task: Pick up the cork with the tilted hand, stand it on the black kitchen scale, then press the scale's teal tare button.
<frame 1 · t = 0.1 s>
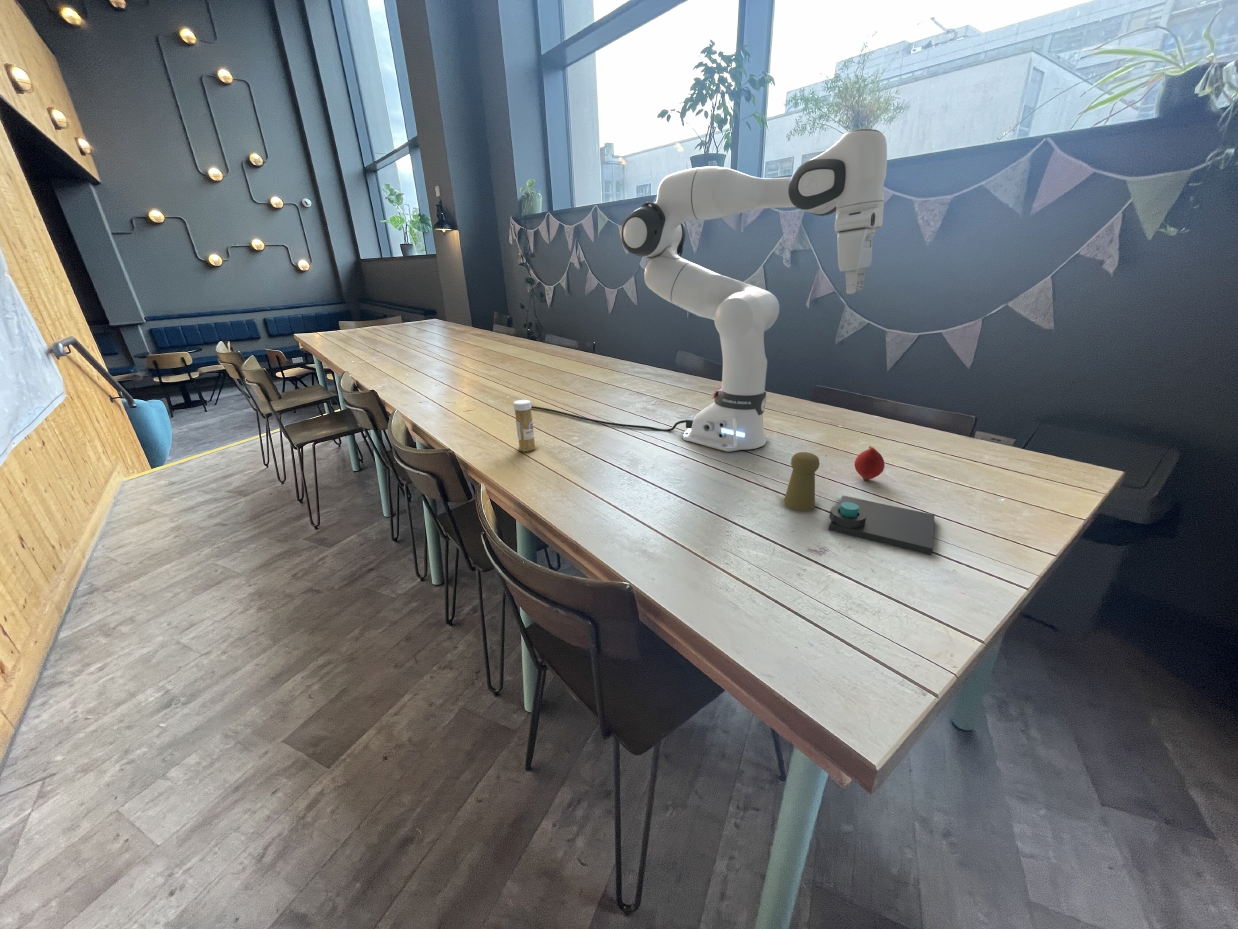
hand: (854, 291, 102), 39 cm above the table, tool pointing down, fingers open, 8 cm apart
scale: (881, 525, 87), on the table
cork: (799, 505, 96), on the table
tare button: (849, 509, 86), point 4 cm above the table, slide at 0.1 cm
onion: (866, 480, 105), on the table
sprinkles bottle: (527, 449, 128), on the table
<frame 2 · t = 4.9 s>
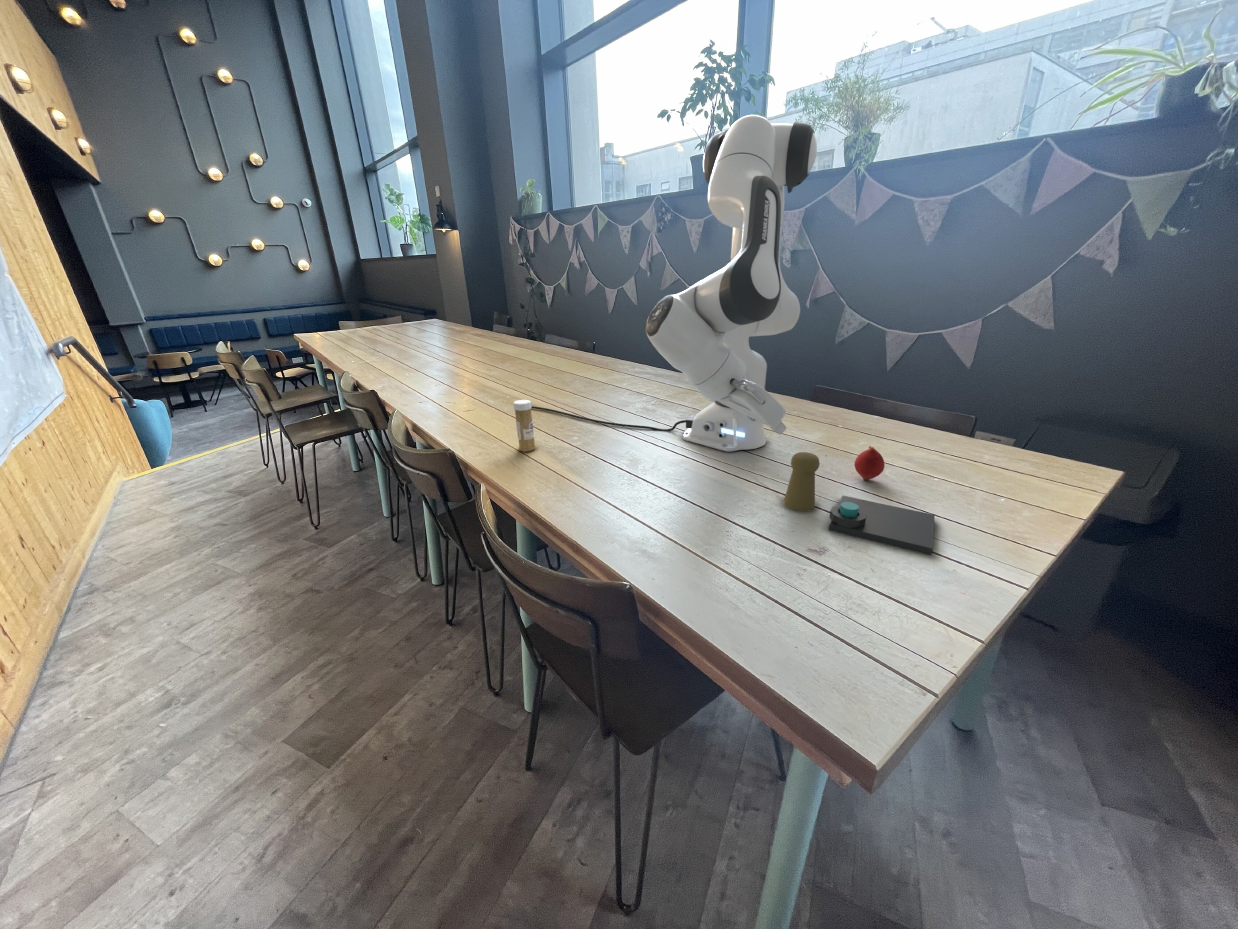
hand: (767, 424, 87), 18 cm above the table, tool tilted 45°, fingers open, 8 cm apart
nothing on the table moved.
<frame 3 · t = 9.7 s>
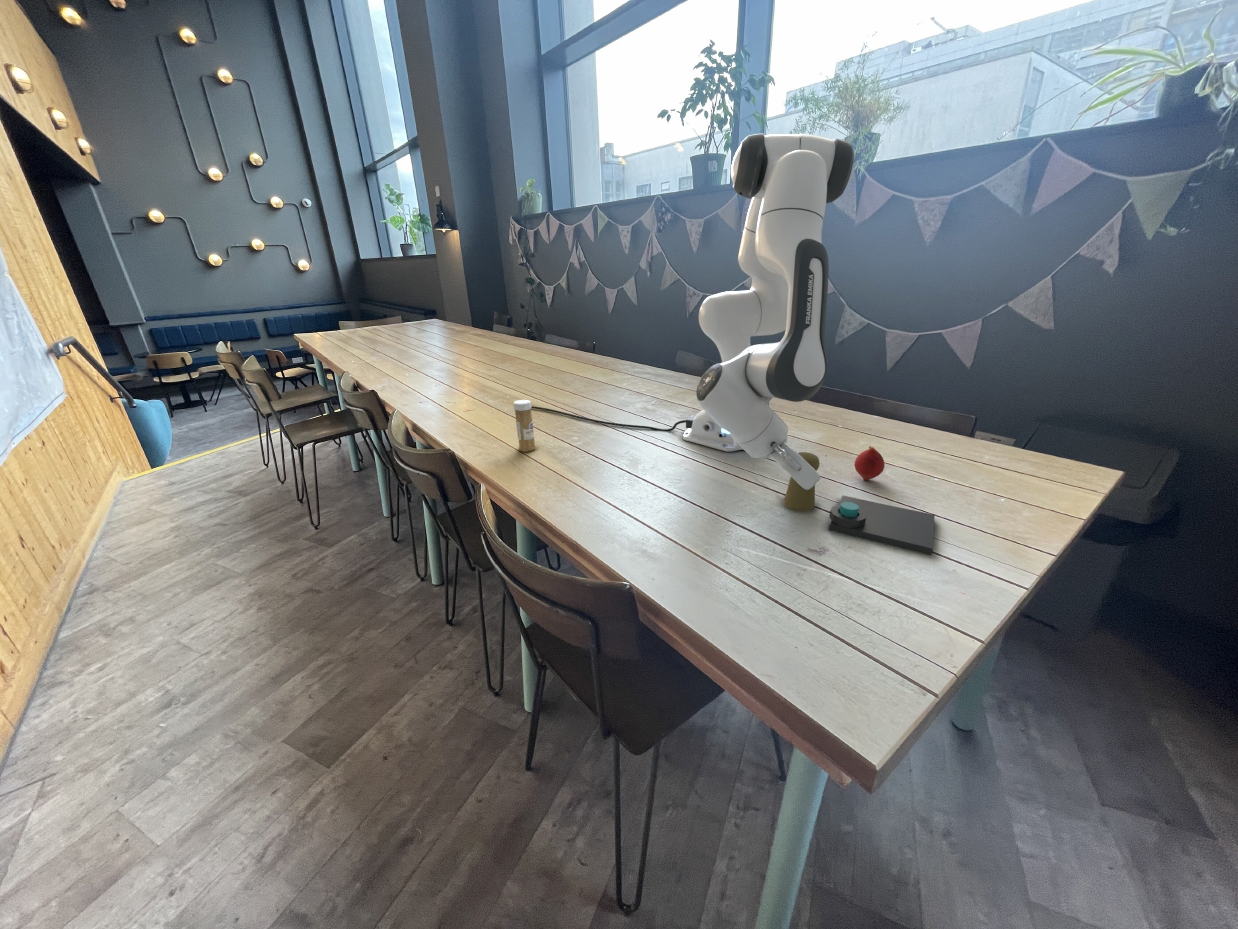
hand: (805, 477, 93), 6 cm above the table, tool tilted 45°, fingers closed on cork, 4 cm apart
cork: (799, 505, 96), on the table, touching gripper
everything else where it was.
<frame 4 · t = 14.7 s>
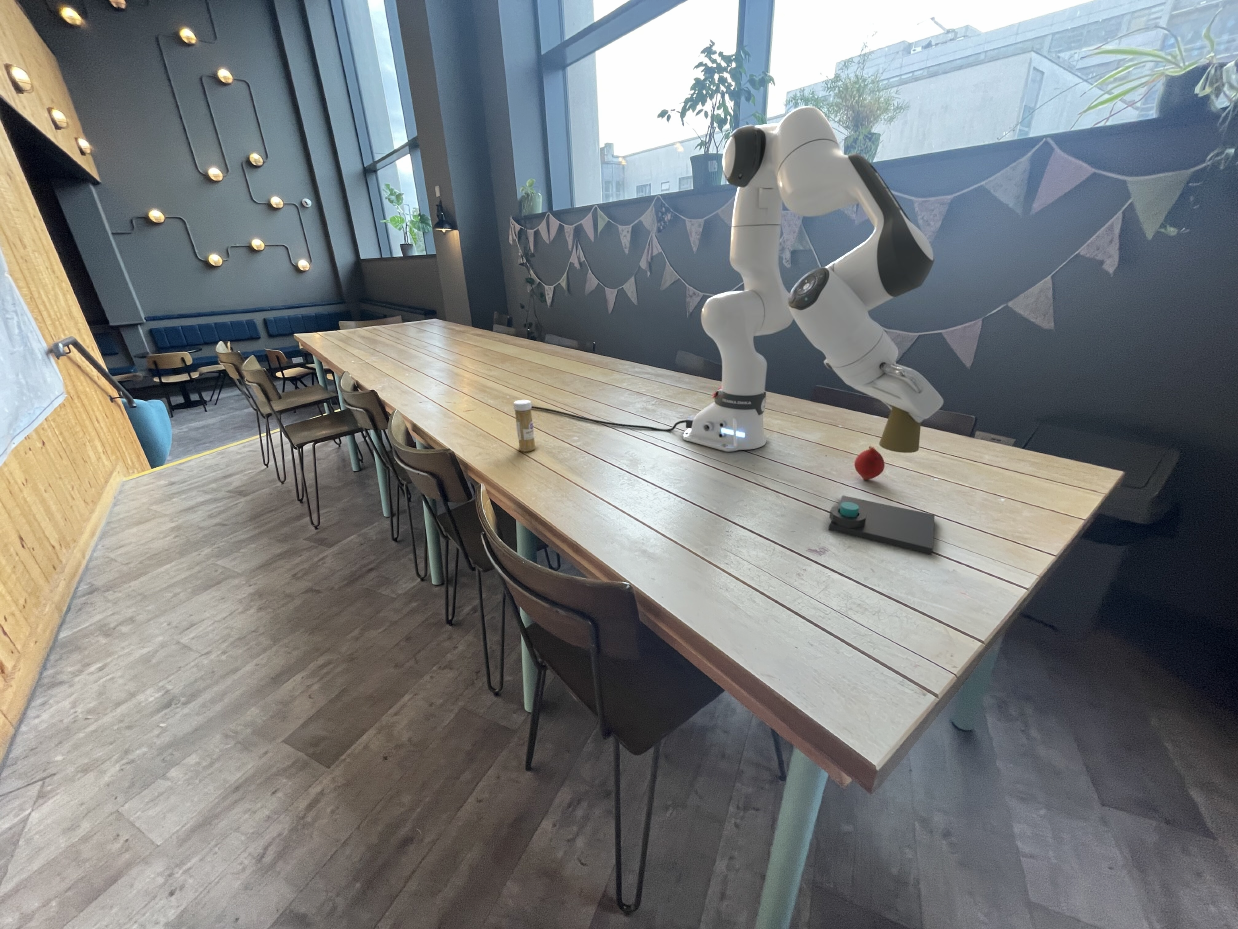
hand: (909, 413, 79), 21 cm above the table, tool tilted 45°, fingers closed on cork, 4 cm apart
cork: (898, 447, 82), point 15 cm above the table, touching gripper
everything else where it was.
when the fingers open (7 cm above the table, at t = 19.5 s): cork stays where it is, resting on scale.
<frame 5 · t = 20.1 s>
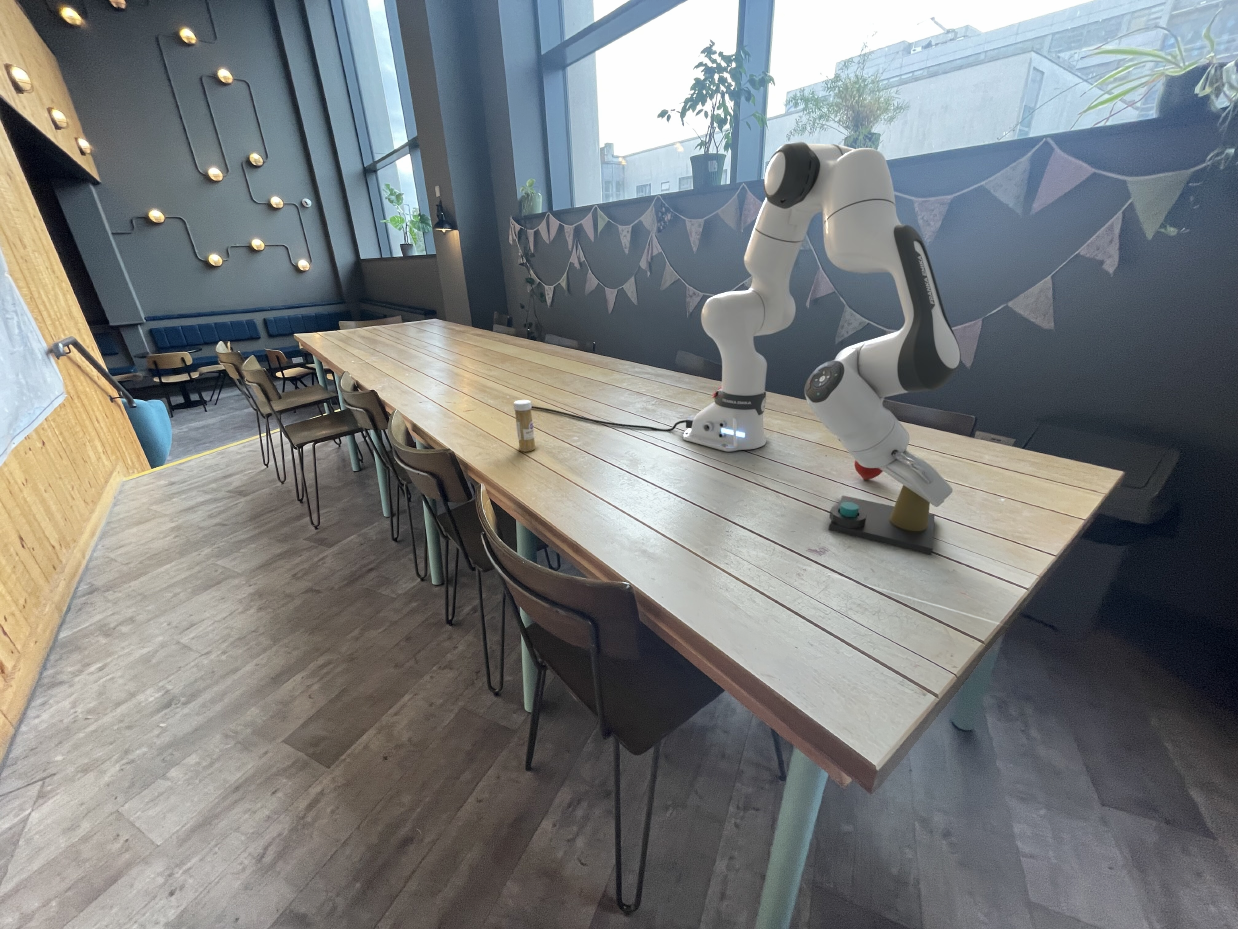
hand: (918, 489, 83), 8 cm above the table, tool tilted 45°, fingers open, 8 cm apart
cork: (907, 523, 85), point 1 cm above the table, touching scale
everything else where it was.
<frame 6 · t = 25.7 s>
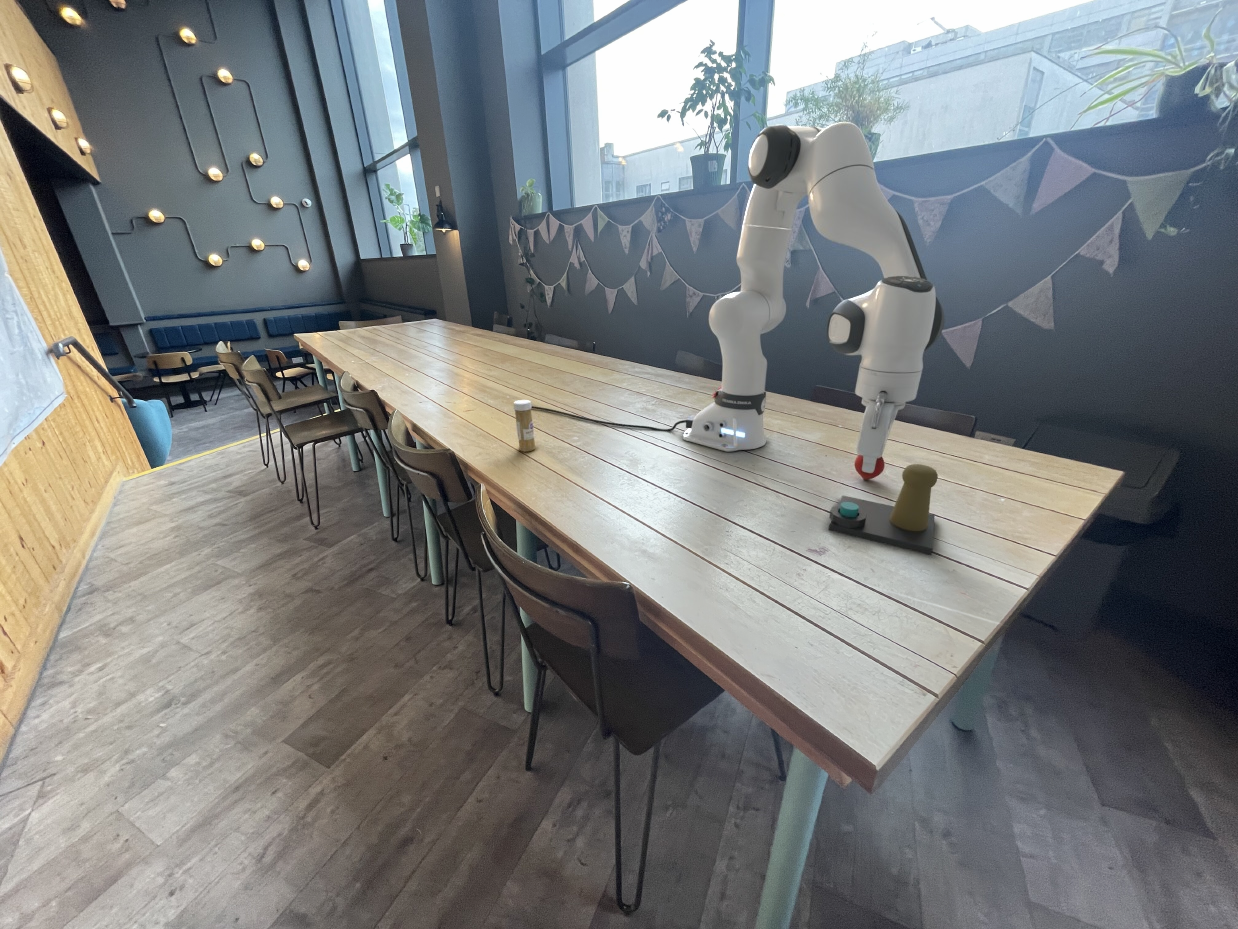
hand: (870, 463, 81), 13 cm above the table, tool pointing down, fingers open, 6 cm apart
nothing on the table moved.
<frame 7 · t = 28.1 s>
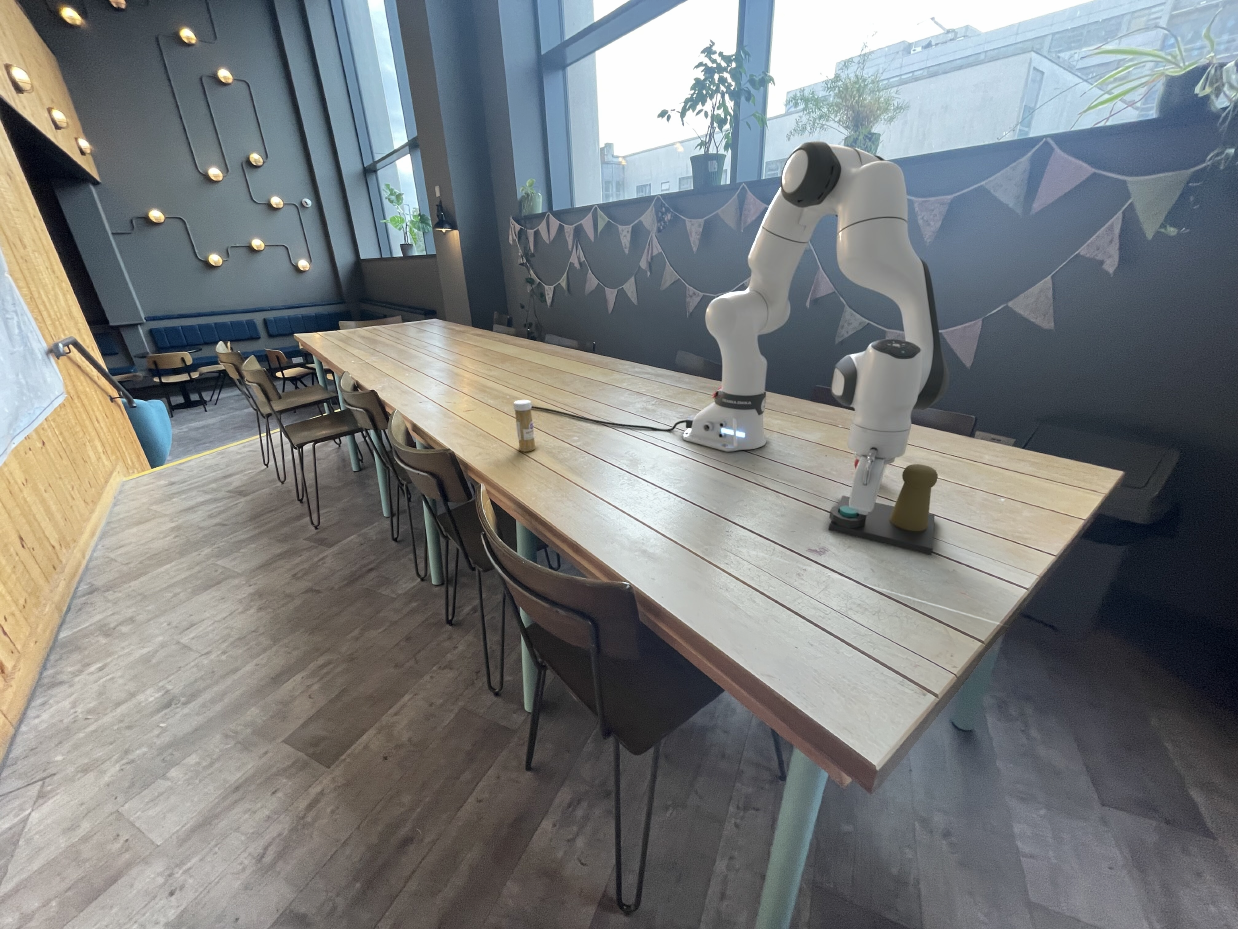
hand: (863, 511, 85), 4 cm above the table, tool pointing down, fingers closed, pressing on tare button
tare button: (848, 513, 86), point 3 cm above the table, slide at -0.6 cm, touching gripper
everything else where it was.
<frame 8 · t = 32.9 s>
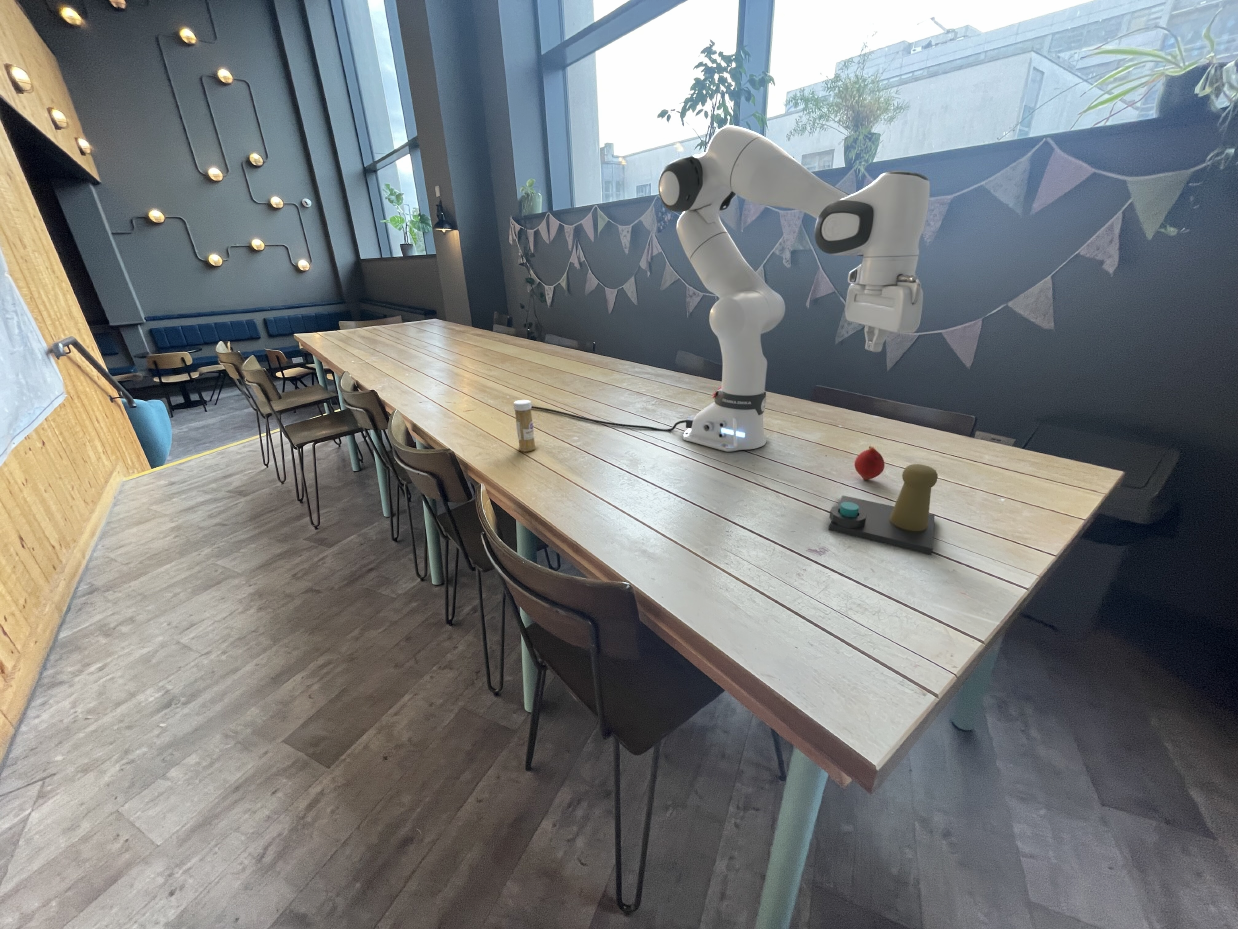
hand: (872, 350, 91), 29 cm above the table, tool pointing down, fingers closed
tare button: (849, 510, 86), point 4 cm above the table, slide at 0.1 cm
everything else where it was.
at the end: cork inside the target area on the scale (3.0 cm from its centre), point 1.2 cm above the scale's base; cork tilted 0°; tare button pushed in 0.9 cm at the most during the clip, back to where it started at the end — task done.
